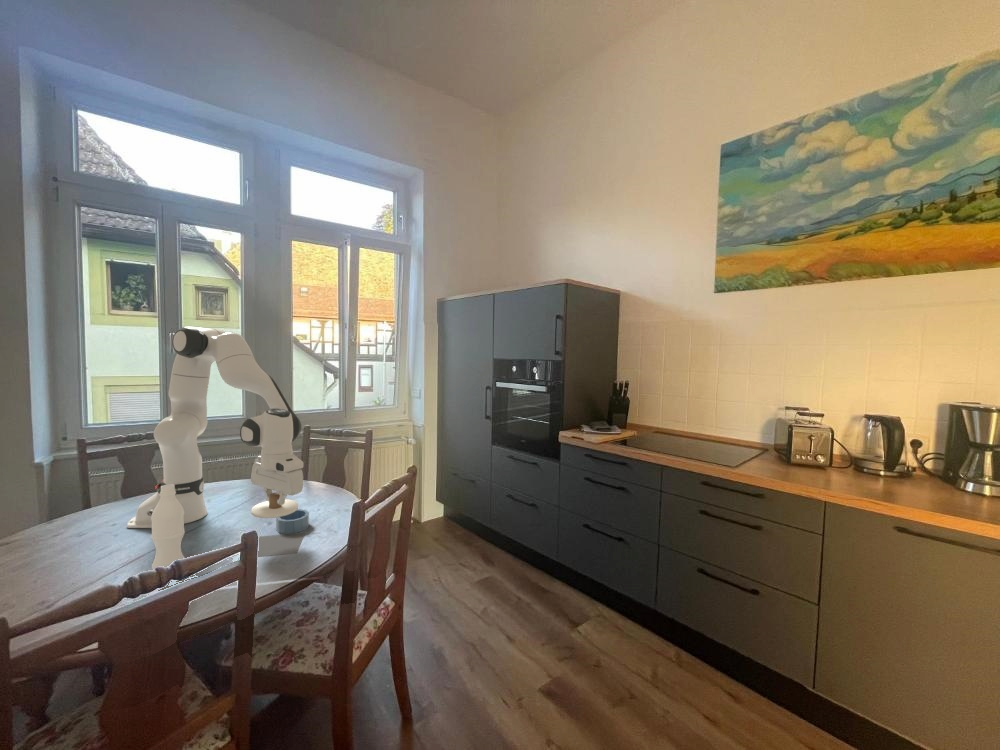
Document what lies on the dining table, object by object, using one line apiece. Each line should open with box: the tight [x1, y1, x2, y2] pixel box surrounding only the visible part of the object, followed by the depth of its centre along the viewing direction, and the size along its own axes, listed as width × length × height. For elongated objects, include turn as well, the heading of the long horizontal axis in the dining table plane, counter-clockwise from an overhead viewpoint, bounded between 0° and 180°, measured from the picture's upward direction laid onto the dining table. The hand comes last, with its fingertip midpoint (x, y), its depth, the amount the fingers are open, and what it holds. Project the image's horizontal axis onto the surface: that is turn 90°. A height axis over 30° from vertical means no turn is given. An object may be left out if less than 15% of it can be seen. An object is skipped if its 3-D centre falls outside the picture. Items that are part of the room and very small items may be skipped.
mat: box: [257, 532, 306, 558], centre depth 130 cm, size 14×14×1 cm
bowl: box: [275, 508, 310, 535], centre depth 142 cm, size 10×10×5 cm
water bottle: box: [150, 484, 186, 570], centre depth 112 cm, size 7×7×25 cm
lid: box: [251, 491, 299, 519], centre depth 128 cm, size 13×13×5 cm
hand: (275, 502), depth 128 cm, fingers closed on lid, 4 cm apart
